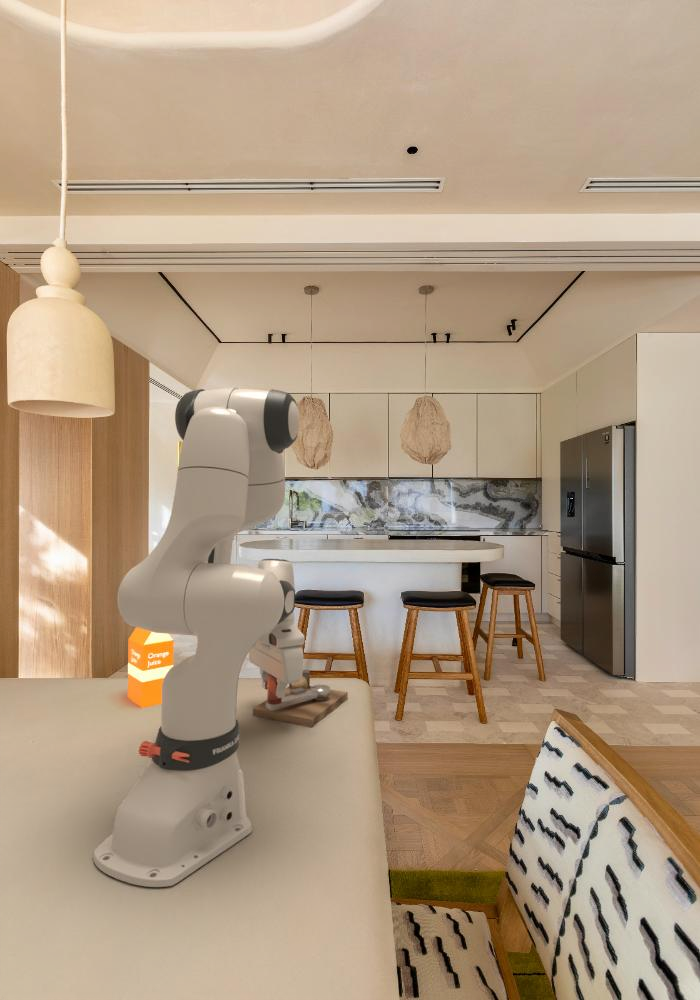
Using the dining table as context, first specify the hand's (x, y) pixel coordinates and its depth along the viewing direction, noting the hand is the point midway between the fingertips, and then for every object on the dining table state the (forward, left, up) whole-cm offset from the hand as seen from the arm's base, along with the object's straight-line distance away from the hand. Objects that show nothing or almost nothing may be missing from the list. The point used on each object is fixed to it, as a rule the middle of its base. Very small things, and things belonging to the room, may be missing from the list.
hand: (273, 692), depth 125 cm
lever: (+6, -3, -3) cm, 7 cm away
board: (+9, -3, -6) cm, 11 cm away
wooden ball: (+13, +1, -4) cm, 14 cm away
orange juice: (-3, +33, -6) cm, 33 cm away
